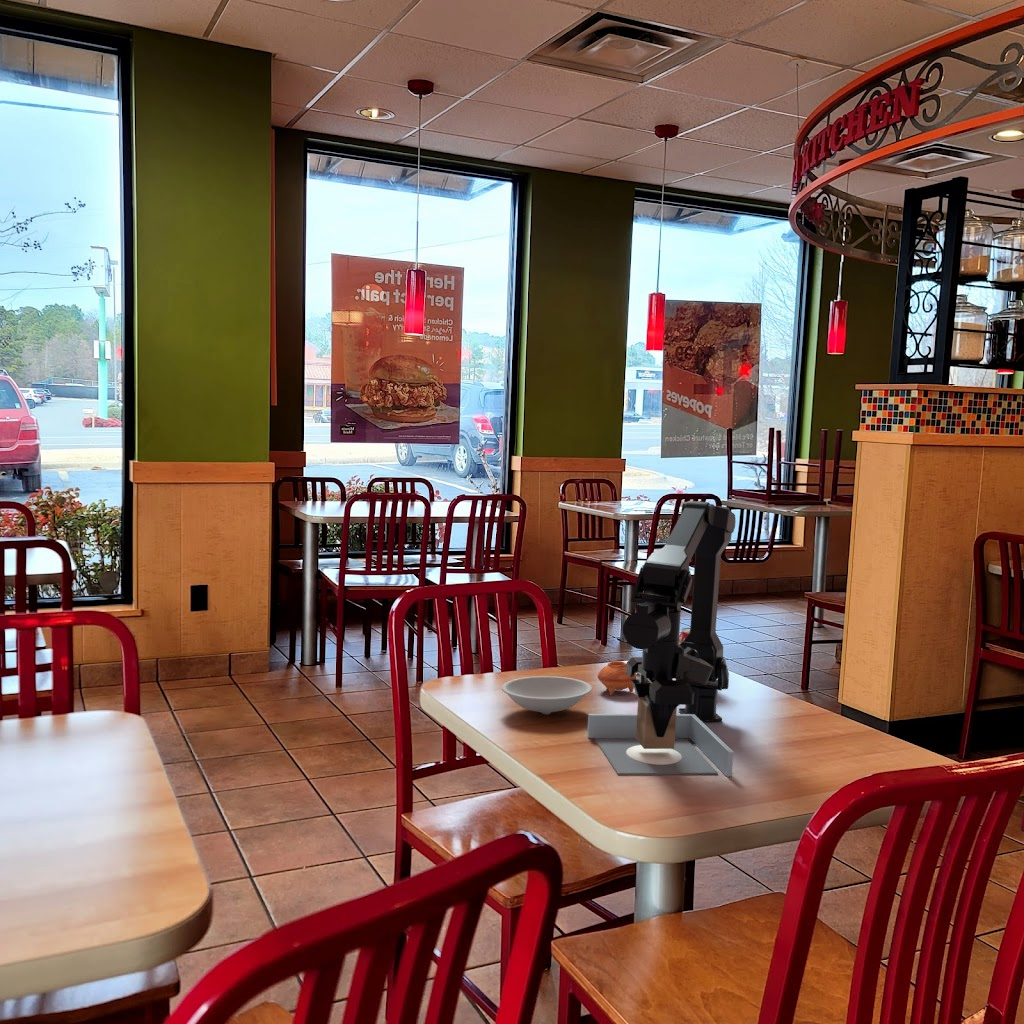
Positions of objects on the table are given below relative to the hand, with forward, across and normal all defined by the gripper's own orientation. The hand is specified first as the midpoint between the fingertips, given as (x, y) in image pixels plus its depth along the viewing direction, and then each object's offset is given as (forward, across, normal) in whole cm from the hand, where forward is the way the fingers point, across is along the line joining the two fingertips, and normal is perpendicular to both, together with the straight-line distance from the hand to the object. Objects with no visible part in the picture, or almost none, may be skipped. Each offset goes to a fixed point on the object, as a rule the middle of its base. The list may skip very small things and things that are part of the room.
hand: (655, 731), depth 156 cm
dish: (+4, +23, +14) cm, 27 cm away
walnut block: (+2, 0, 0) cm, 2 cm away
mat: (+4, 0, 0) cm, 4 cm away
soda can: (+4, +41, -20) cm, 46 cm away
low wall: (+4, 0, 0) cm, 4 cm away
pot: (+4, +37, -3) cm, 37 cm away
